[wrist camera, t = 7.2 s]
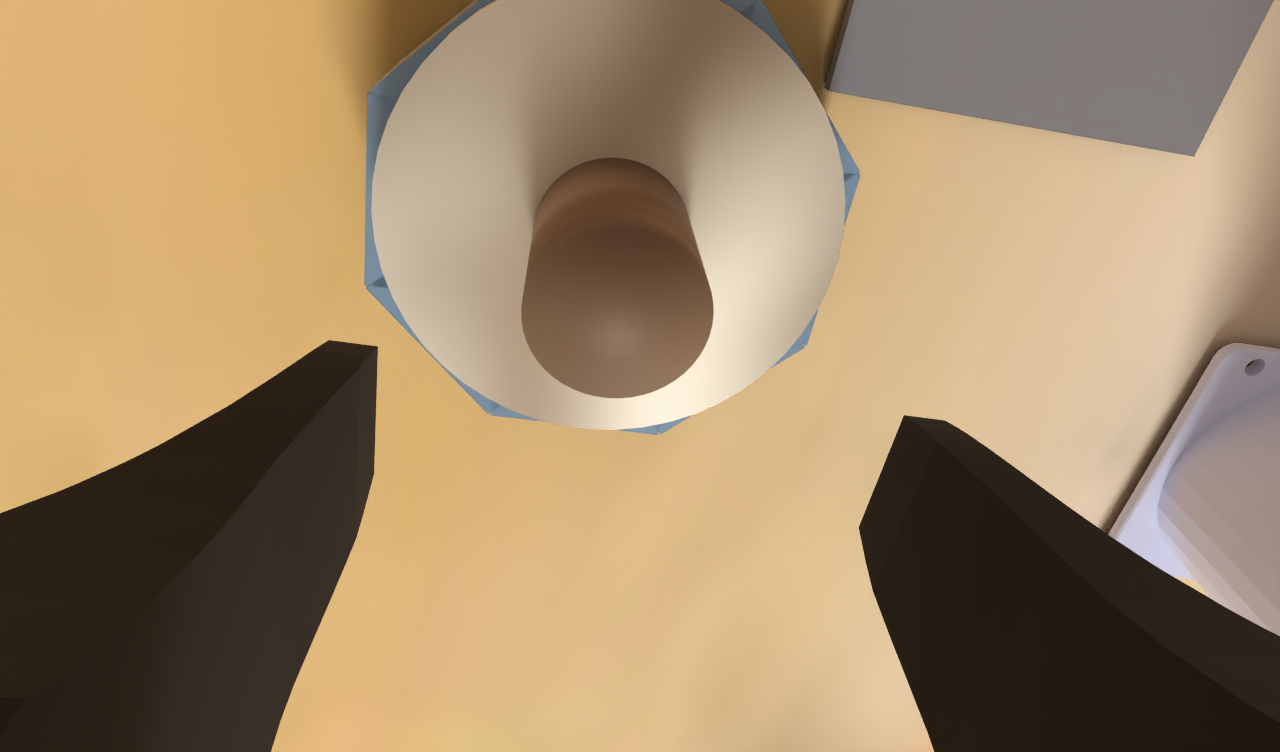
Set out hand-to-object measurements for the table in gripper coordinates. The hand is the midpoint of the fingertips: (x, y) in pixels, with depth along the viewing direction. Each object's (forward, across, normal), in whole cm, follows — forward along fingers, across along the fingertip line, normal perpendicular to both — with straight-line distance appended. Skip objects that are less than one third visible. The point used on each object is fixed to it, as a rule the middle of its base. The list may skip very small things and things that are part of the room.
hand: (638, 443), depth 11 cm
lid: (+7, 0, -1) cm, 7 cm away
